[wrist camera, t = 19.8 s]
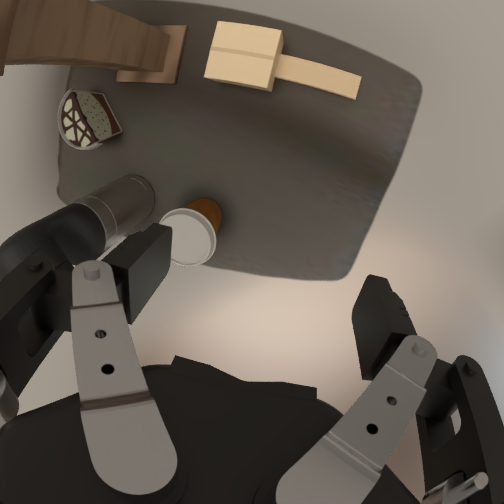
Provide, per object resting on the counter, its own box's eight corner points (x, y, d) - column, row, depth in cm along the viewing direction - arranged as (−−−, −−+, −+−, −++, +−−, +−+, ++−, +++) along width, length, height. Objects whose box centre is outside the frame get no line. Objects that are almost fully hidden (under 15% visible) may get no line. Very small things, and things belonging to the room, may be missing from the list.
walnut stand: (118, 81, 45) (-68, 96, 11) (128, 28, 40) (-46, -7, 6) (176, 84, 45) (-17, 77, 11) (188, 26, 40) (21, -55, 6)
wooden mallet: (218, 81, 44) (203, 77, 37) (230, 33, 40) (217, 20, 33) (349, 113, 43) (359, 114, 36) (362, 64, 39) (374, 56, 32)
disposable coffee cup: (189, 181, 52) (162, 201, 42) (238, 201, 53) (222, 226, 42) (175, 226, 57) (148, 255, 46) (220, 246, 57) (203, 279, 47)
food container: (80, 105, 48) (46, 109, 39) (100, 87, 46) (67, 87, 37) (104, 154, 52) (73, 165, 43) (126, 138, 50) (95, 146, 41)
